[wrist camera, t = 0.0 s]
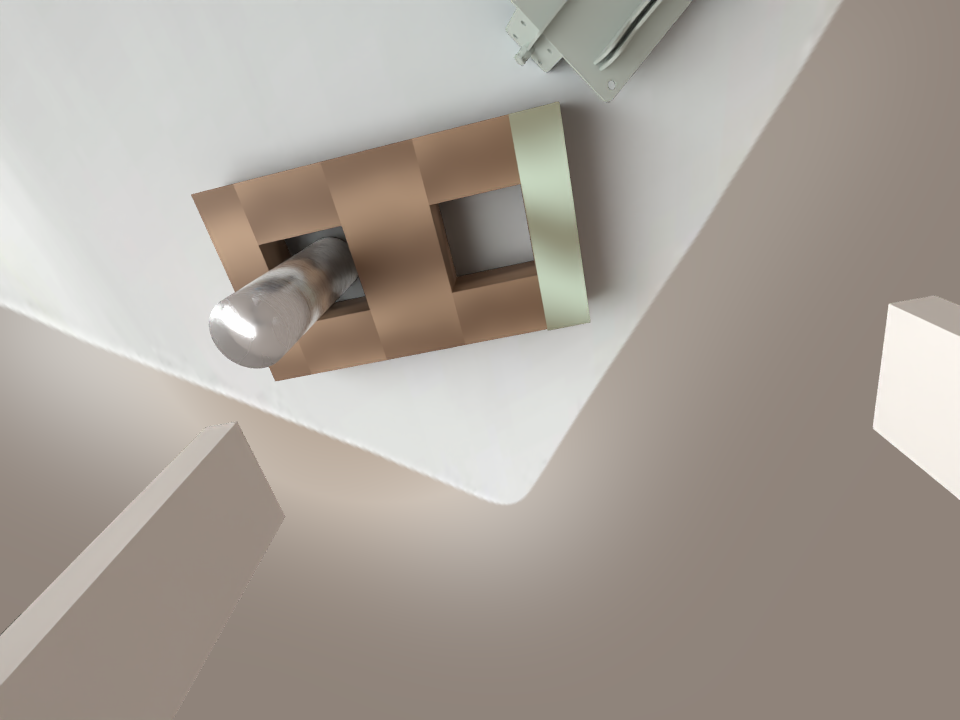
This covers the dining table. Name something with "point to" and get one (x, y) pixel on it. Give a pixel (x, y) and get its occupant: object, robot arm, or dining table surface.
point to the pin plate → (414, 240)
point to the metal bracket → (592, 36)
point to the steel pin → (282, 304)
